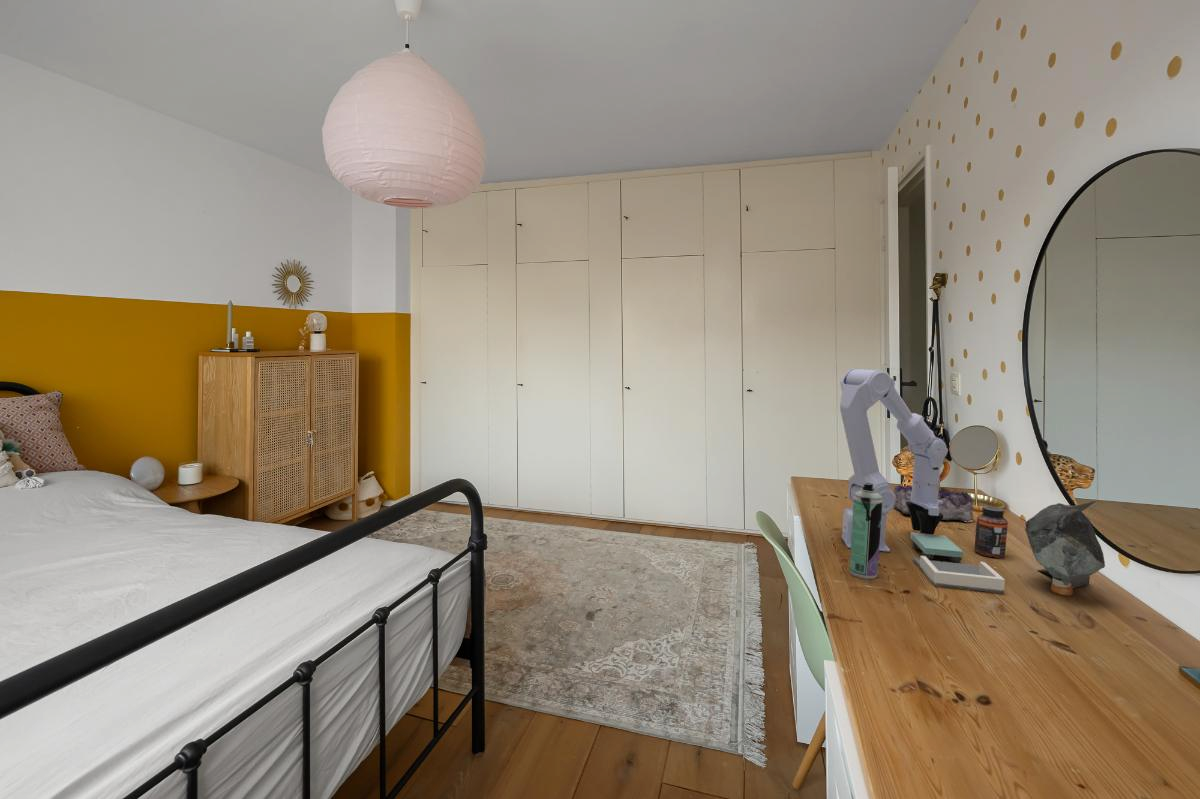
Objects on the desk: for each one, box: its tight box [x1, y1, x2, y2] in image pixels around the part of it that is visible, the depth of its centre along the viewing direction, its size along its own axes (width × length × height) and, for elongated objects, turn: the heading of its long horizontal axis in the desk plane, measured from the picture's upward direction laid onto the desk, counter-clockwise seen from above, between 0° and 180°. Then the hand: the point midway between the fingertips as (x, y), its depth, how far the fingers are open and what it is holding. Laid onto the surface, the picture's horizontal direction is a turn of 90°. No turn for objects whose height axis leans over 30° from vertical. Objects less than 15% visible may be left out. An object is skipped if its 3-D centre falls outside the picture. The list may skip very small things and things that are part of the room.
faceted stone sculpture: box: [1024, 500, 1106, 597], centre depth 107 cm, size 14×15×18 cm
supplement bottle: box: [973, 505, 1009, 559], centre depth 125 cm, size 6×6×11 cm
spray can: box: [849, 483, 882, 580], centre depth 113 cm, size 6×6×20 cm
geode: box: [893, 484, 975, 522], centre depth 155 cm, size 20×12×10 cm, turn 65°
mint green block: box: [910, 532, 964, 563], centre depth 125 cm, size 8×11×3 cm
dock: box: [911, 555, 1006, 595], centre depth 113 cm, size 12×14×3 cm
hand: (921, 534), depth 134 cm, fingers open, 6 cm apart
